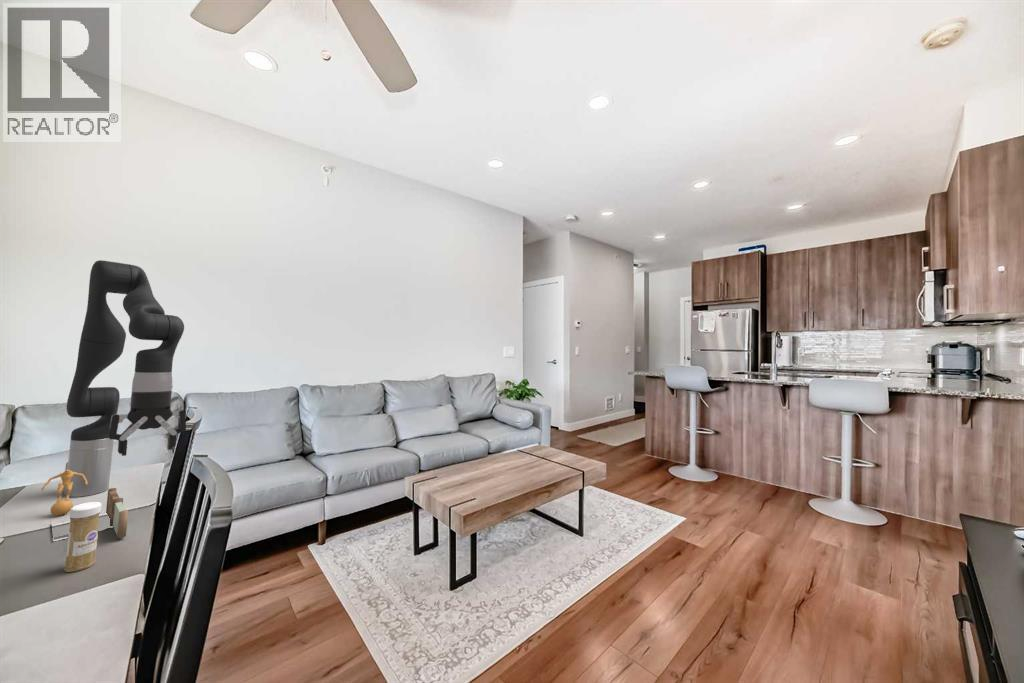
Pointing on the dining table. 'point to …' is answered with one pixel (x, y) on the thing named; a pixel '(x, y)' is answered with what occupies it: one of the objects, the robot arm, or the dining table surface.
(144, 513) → the dining table surface
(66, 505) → the figurine
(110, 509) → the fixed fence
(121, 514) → the swing panel
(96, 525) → the sprinkles bottle
